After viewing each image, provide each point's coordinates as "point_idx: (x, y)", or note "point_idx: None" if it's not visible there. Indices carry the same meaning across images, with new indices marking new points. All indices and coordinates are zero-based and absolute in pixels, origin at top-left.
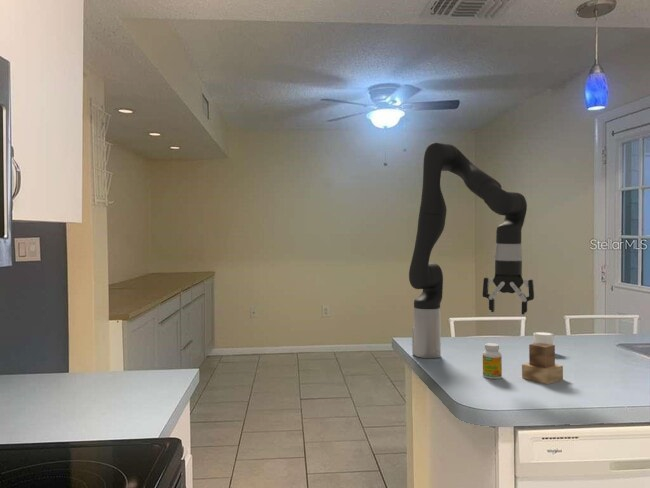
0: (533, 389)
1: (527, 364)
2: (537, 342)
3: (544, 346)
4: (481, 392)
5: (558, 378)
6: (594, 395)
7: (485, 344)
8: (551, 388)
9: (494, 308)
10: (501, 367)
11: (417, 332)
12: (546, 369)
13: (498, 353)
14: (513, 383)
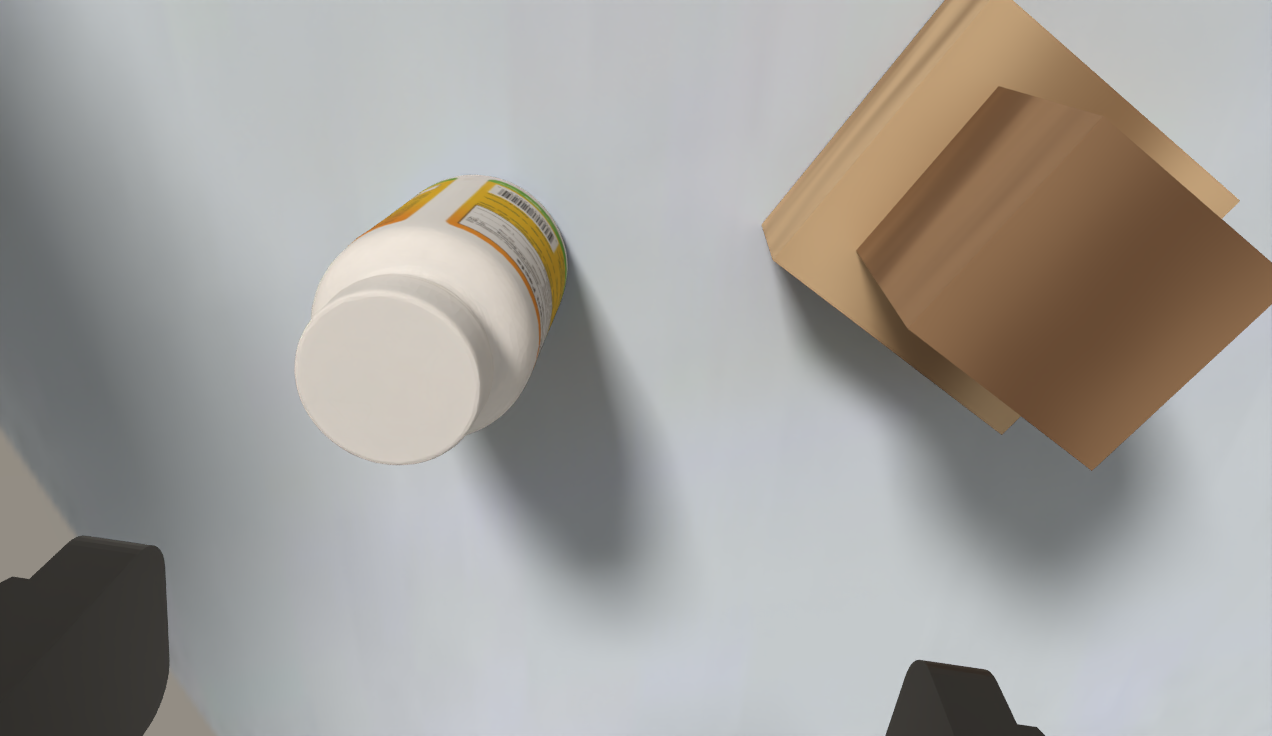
0: (810, 541)
1: (835, 247)
2: None
3: (1101, 410)
4: (430, 689)
5: None
6: (1252, 575)
7: (302, 400)
8: (963, 483)
9: (113, 590)
10: (554, 310)
11: None
12: (997, 410)
13: (496, 403)
14: (666, 423)
